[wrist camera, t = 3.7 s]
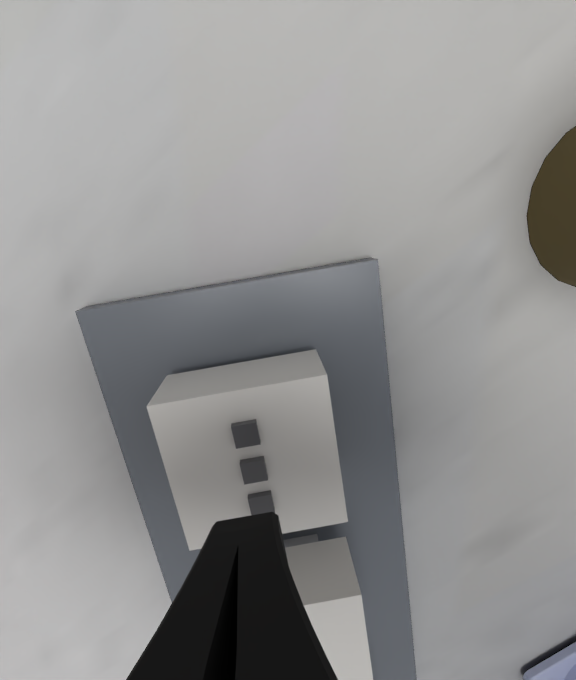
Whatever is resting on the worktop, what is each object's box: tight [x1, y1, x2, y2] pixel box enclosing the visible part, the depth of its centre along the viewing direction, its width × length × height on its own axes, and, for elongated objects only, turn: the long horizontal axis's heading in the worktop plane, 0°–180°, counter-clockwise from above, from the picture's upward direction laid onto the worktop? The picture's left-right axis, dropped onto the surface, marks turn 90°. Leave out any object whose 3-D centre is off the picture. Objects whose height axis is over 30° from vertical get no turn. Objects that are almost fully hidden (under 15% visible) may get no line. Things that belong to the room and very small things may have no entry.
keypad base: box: [75, 258, 417, 680], centre depth 16 cm, size 24×10×2 cm, turn 9°
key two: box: [285, 537, 373, 680], centre depth 13 cm, size 5×5×2 cm
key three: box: [146, 349, 348, 551], centre depth 12 cm, size 5×5×2 cm
